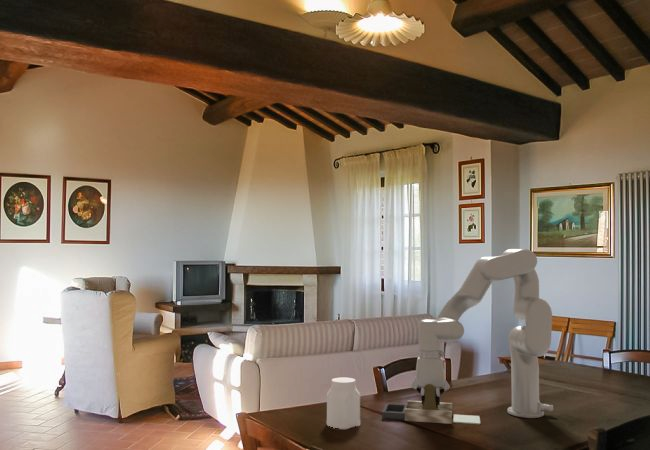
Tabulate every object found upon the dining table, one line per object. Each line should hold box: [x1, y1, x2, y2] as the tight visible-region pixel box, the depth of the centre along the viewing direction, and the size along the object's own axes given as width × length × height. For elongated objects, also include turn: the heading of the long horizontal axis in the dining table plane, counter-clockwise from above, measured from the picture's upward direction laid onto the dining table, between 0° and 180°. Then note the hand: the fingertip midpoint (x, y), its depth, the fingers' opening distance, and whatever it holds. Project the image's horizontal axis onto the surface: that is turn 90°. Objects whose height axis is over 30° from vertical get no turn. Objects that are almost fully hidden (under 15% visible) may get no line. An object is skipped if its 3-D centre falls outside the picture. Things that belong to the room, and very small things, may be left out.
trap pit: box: [381, 403, 408, 422], centre depth 210 cm, size 8×12×2 cm, turn 167°
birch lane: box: [404, 400, 453, 425], centre depth 207 cm, size 16×12×4 cm
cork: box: [422, 384, 438, 410], centre depth 207 cm, size 6×6×11 cm
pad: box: [452, 413, 481, 425], centre depth 204 cm, size 9×9×1 cm
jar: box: [326, 376, 361, 430], centre depth 199 cm, size 12×10×15 cm
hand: (430, 406), depth 207 cm, fingers closed on cork, 3 cm apart
